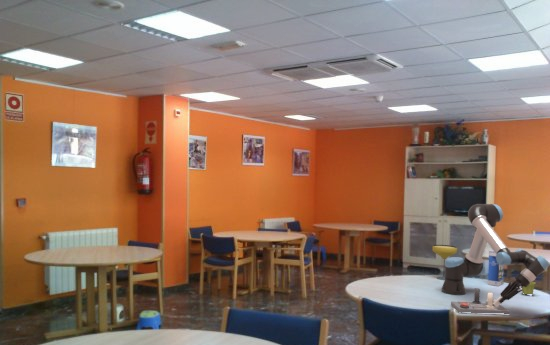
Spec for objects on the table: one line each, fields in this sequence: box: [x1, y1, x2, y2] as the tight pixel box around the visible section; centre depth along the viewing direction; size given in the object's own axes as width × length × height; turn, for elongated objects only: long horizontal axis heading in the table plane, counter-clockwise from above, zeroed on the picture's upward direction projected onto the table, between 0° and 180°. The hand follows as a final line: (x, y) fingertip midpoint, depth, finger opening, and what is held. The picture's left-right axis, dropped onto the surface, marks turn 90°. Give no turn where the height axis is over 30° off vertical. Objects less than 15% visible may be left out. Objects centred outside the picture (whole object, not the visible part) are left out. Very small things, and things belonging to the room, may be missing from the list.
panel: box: [450, 300, 511, 314], centre depth 280 cm, size 28×16×5 cm, turn 86°
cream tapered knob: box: [485, 291, 494, 309], centre depth 275 cm, size 4×3×9 cm
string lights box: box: [487, 248, 505, 287], centre depth 353 cm, size 13×8×26 cm, turn 139°
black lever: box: [471, 288, 482, 304], centre depth 284 cm, size 4×3×9 cm
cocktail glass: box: [432, 244, 458, 281], centre depth 367 cm, size 18×18×25 cm
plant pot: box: [521, 281, 536, 295], centre depth 322 cm, size 9×9×9 cm
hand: (494, 305), depth 275 cm, fingers closed
